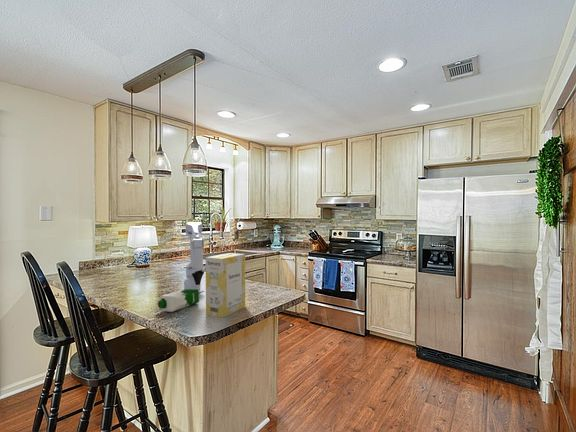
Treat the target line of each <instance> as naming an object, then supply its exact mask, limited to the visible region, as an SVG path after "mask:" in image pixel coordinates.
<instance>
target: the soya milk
mask: <svg viewBox="0 0 576 432" xmlns="http://www.w3.org/2000/svg"><path fill="white" fill-rule="evenodd" d="M199 294H200V293H199V292H198V289H186V290H184V289H181V290H178V291H174V292H170V293H167V294H163V295H161V298H160V300H158V302H157V306H158V308H159V309H161V311H162V312H170V313H171V312H176V311H179V310H181V309H184V308H188V307H190V306H193V305H196V304H198V303H200V295H199Z"/></svg>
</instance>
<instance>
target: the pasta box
mask: <svg viewBox="0 0 576 432" xmlns="http://www.w3.org/2000/svg"><path fill="white" fill-rule="evenodd" d="M205 266H206V270H205V314H206V315H208V316H213V317H218V318H225V317H227V316H229V315H231V314H234V313H236V312H238V311H239V310H241V309H244V308H246V254H245V253H237V252H235V253H233V252H227V253H222V254H216V255H211V256H205Z"/></svg>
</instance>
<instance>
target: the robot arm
mask: <svg viewBox="0 0 576 432" xmlns="http://www.w3.org/2000/svg"><path fill="white" fill-rule="evenodd" d="M202 232H203V222H201V221H197V222H196V221H195V222H194V221H193V222H192V221H191V222H188V221H187V222H186V223H185V235H186V237H188V238H189V242H190V243H189V250H190V254H189V255H190V256H189V257H190V262H189V263H187V265H186V266H185V277H186V278H185V279H184V282H183V290H186V289H198V292H199V294H200V293H203V292H204V290H202V289H201V281H202V278H203V275H204V274H205V271H206V265H204V247H205V240H204V238H203V237H202Z"/></svg>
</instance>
